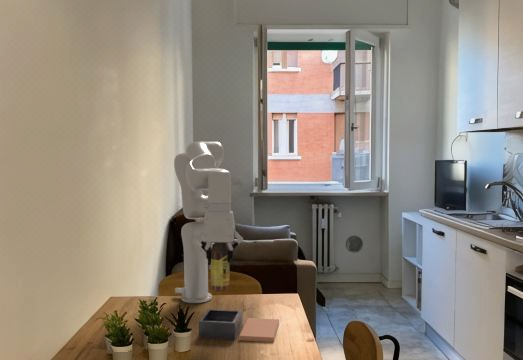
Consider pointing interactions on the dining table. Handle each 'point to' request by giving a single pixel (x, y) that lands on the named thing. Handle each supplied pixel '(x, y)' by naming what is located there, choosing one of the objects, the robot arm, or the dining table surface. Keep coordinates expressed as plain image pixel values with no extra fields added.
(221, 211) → the robot arm
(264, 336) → the plate
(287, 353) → the dining table surface
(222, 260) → the sauce bottle
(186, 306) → the dining table surface
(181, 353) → the dining table surface
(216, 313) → the bottle holder
